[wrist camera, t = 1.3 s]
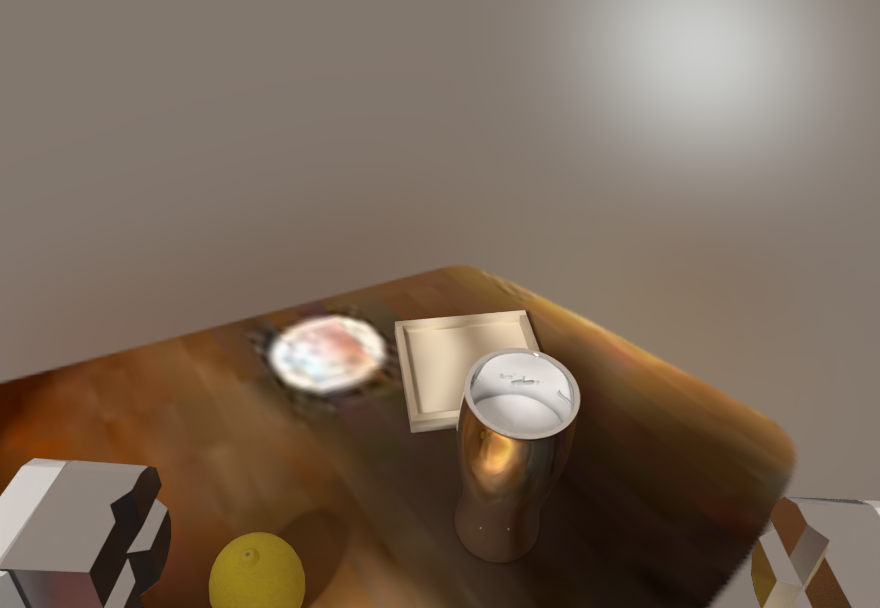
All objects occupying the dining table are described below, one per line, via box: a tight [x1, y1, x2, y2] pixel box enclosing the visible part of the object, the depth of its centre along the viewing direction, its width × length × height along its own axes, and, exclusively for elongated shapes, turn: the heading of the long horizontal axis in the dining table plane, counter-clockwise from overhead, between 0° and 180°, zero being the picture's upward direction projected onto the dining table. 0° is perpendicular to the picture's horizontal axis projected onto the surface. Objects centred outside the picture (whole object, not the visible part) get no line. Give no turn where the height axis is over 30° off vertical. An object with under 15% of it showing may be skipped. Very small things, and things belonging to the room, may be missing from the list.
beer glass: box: [454, 348, 580, 563], centre depth 43 cm, size 7×7×15 cm
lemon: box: [209, 532, 305, 608], centre depth 41 cm, size 6×6×8 cm
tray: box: [395, 310, 540, 433], centre depth 58 cm, size 12×11×2 cm
